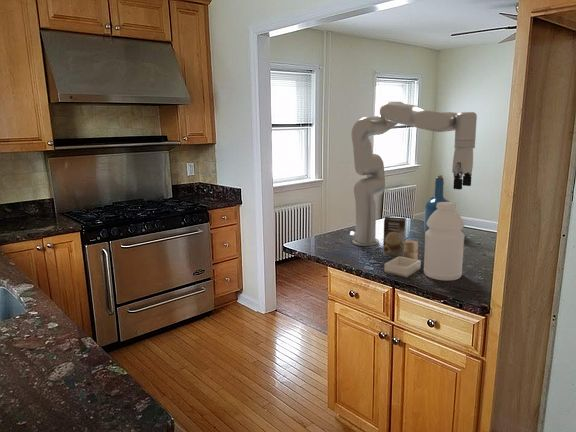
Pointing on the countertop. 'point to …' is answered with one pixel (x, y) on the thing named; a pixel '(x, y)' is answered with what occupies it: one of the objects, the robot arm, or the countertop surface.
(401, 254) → the coffee box
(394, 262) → the white square tray
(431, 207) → the wine bottle
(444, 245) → the bottle
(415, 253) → the tan rounded cylinder
